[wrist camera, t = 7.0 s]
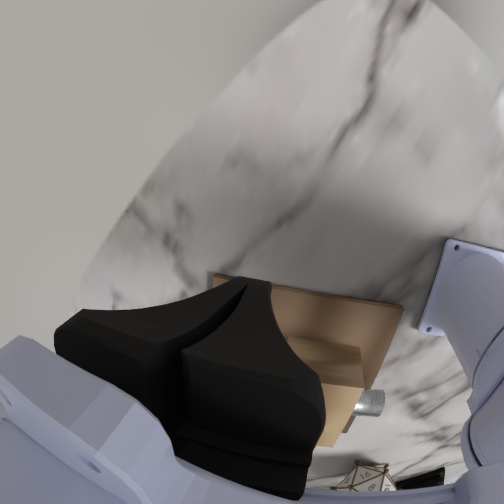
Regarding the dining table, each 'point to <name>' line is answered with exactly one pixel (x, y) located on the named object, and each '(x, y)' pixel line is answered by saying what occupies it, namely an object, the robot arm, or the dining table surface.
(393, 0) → the dining table surface
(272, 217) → the dining table surface
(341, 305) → the block
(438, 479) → the chess piece
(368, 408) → the pin
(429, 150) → the dining table surface
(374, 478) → the game die
